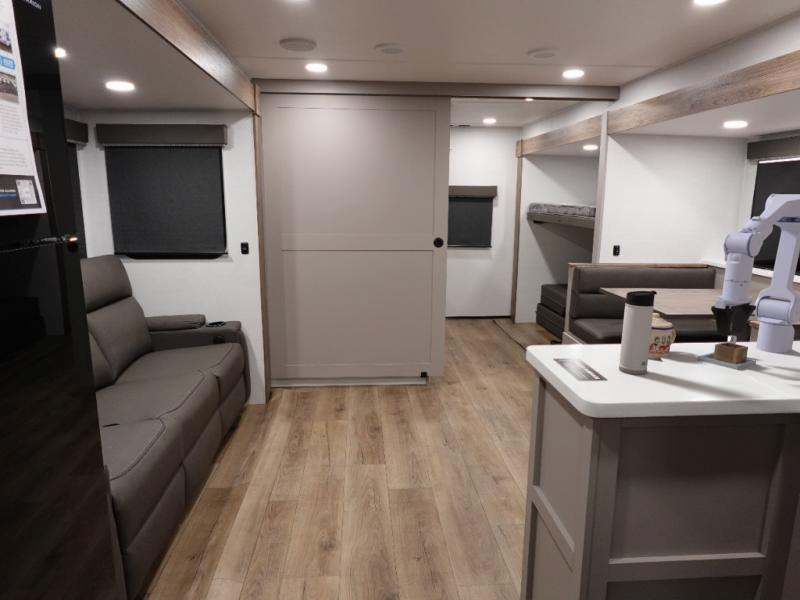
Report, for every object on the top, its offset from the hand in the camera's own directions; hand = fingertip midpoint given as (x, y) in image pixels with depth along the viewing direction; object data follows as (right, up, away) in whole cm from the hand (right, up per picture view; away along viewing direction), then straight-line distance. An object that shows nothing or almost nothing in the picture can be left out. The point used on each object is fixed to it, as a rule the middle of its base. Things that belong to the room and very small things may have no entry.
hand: (730, 333), depth 137 cm
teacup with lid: (-14, -7, +10) cm, 19 cm away
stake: (+5, -7, +8) cm, 12 cm away
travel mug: (-27, -9, -5) cm, 29 cm away
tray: (0, -8, +1) cm, 9 cm away
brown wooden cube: (0, -8, +1) cm, 8 cm away
